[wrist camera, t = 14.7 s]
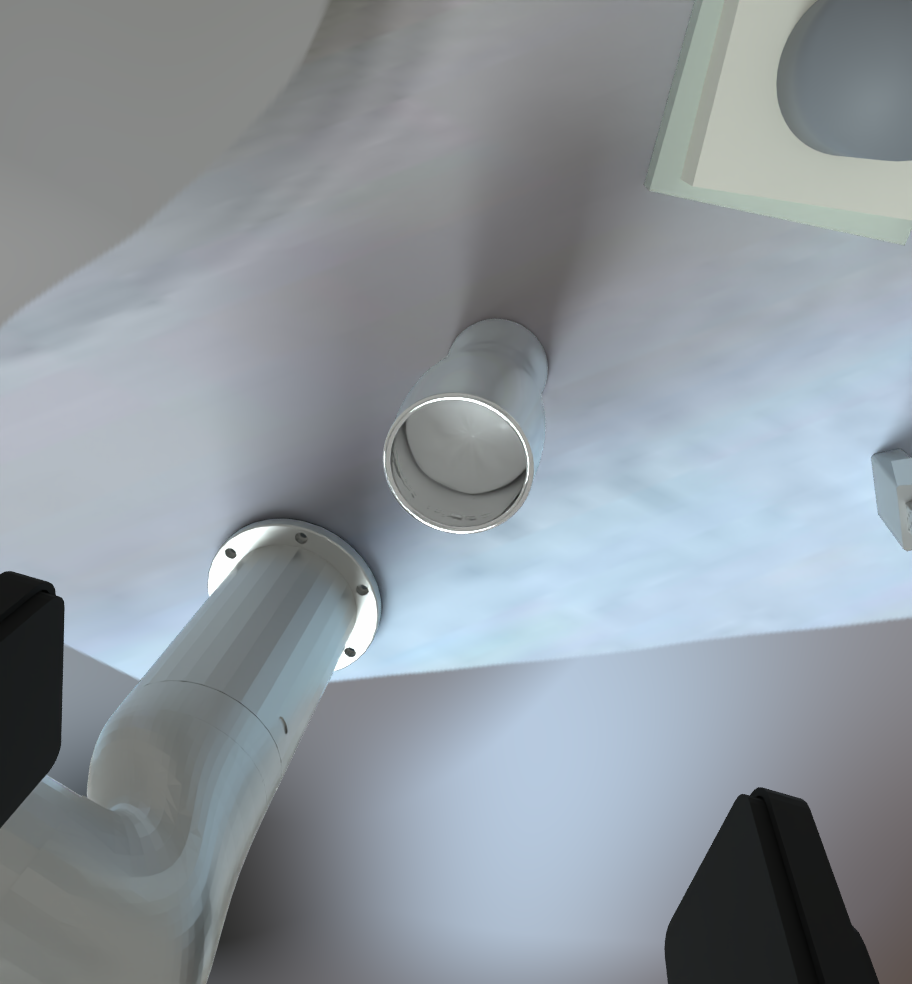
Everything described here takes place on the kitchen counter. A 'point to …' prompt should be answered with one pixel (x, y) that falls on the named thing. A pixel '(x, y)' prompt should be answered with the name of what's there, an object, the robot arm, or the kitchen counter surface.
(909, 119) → the cylinder
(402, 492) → the beer glass
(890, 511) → the lighter
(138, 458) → the kitchen counter surface
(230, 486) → the kitchen counter surface
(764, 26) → the tower top block
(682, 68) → the tower bottom block
